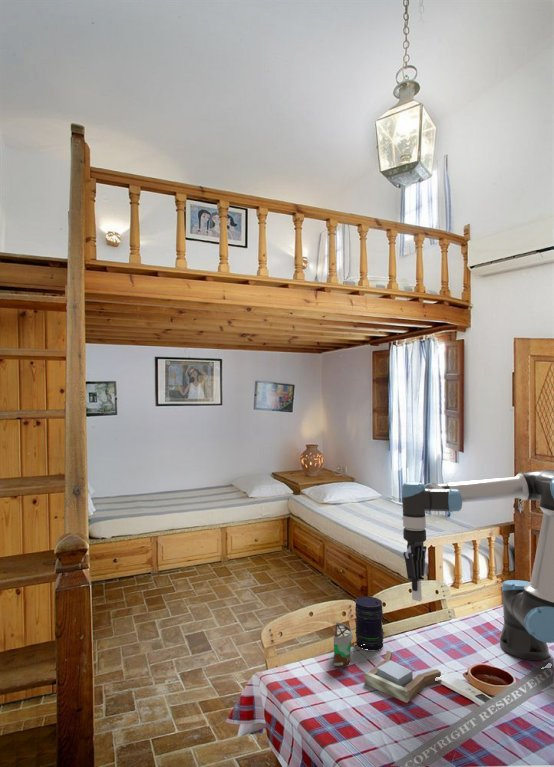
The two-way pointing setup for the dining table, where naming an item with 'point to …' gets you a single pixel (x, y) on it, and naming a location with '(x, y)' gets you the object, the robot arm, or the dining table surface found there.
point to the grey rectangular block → (395, 673)
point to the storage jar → (369, 623)
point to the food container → (342, 645)
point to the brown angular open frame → (396, 690)
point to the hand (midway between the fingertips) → (416, 599)
